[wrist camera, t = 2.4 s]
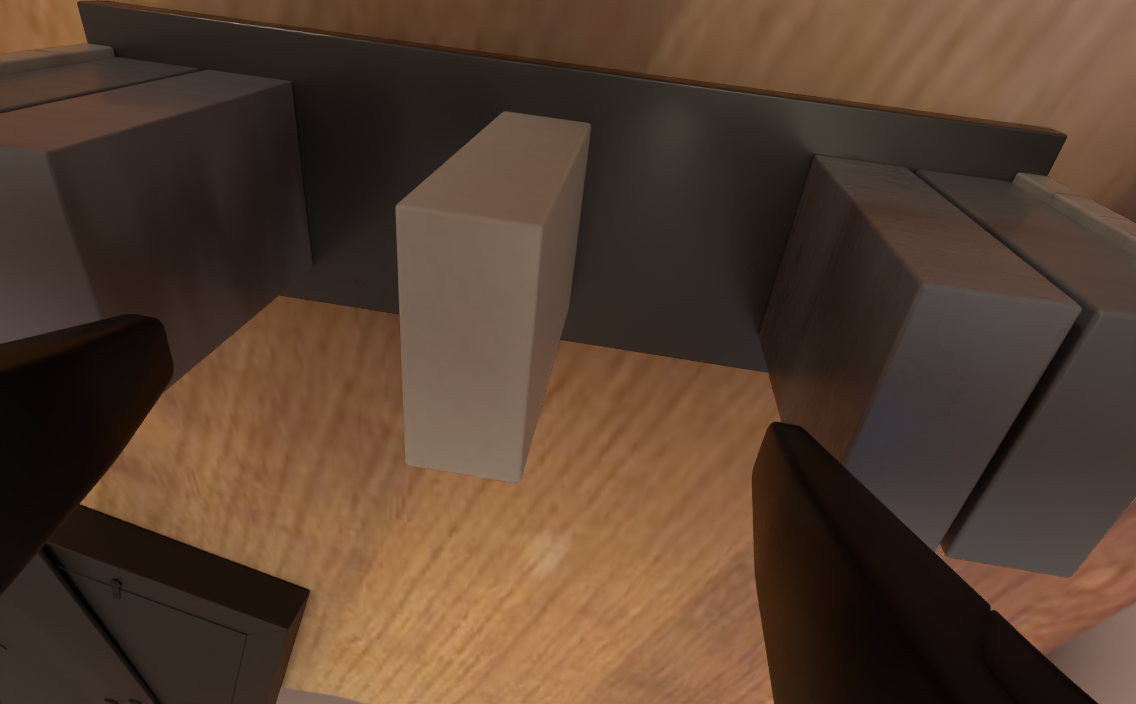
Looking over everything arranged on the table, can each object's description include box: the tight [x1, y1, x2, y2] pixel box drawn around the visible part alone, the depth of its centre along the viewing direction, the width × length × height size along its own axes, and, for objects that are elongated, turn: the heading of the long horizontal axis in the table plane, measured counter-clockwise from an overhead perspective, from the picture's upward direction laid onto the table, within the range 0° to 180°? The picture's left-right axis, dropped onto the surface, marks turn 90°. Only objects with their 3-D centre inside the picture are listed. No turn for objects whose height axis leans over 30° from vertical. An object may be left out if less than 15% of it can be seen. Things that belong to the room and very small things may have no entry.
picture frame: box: [0, 505, 309, 704], centre depth 33 cm, size 16×3×21 cm
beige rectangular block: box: [395, 111, 591, 483], centre depth 15 cm, size 6×2×8 cm, turn 174°
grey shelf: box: [0, 0, 1136, 578], centre depth 15 cm, size 8×26×9 cm, turn 84°
